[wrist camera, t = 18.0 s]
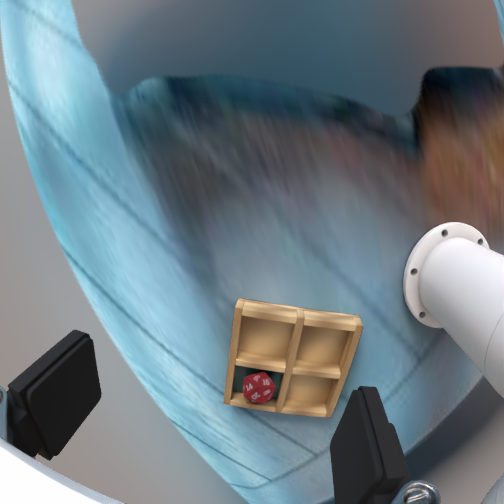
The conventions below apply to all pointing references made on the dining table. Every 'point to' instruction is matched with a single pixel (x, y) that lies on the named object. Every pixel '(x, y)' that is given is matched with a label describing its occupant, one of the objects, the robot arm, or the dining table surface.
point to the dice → (258, 388)
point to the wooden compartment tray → (291, 356)
